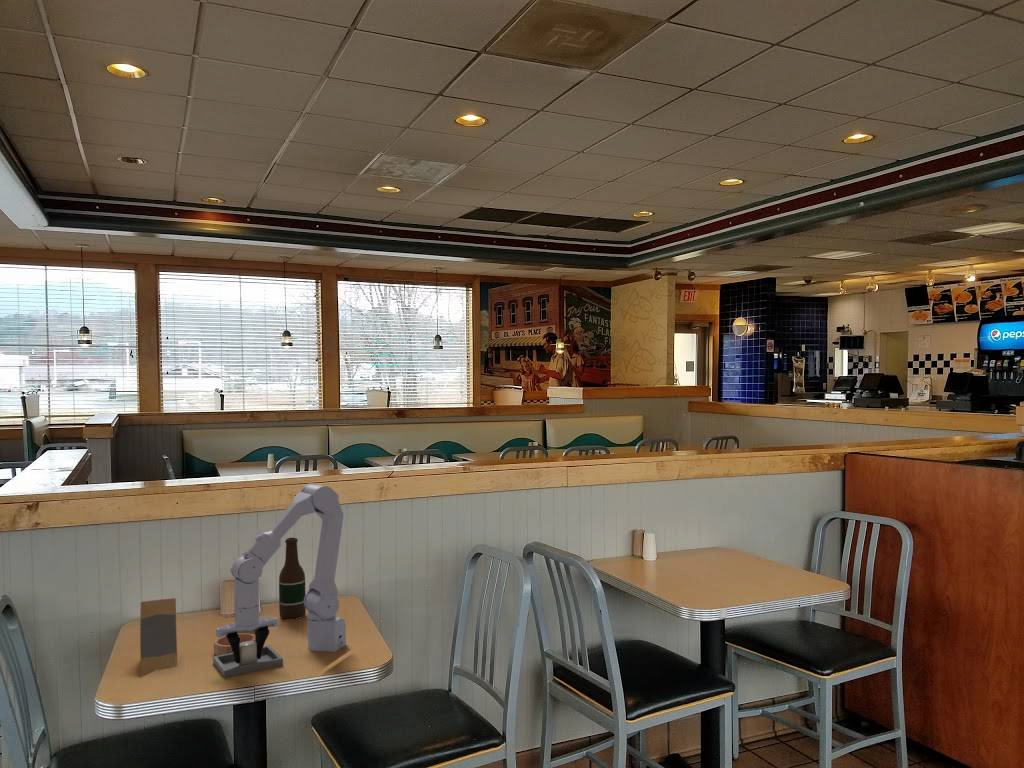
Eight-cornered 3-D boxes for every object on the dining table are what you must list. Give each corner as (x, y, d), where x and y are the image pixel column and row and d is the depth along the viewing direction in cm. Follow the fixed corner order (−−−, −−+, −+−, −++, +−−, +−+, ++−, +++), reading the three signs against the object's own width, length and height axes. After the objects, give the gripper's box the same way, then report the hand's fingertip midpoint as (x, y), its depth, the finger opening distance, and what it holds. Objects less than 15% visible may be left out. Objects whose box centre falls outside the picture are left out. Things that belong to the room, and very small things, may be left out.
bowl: (264, 648, 201) (264, 634, 201) (240, 662, 191) (239, 647, 191) (231, 645, 204) (231, 631, 204) (205, 659, 194) (205, 644, 194)
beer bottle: (279, 614, 233) (278, 537, 233) (305, 611, 235) (304, 535, 235) (279, 621, 225) (278, 541, 225) (306, 618, 227) (304, 539, 228)
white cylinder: (261, 661, 188) (260, 641, 188) (250, 668, 184) (249, 647, 184) (245, 660, 190) (245, 640, 190) (234, 666, 185) (234, 646, 185)
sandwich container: (139, 678, 182) (138, 617, 182) (140, 659, 195) (139, 601, 196) (178, 672, 185) (177, 612, 185) (176, 653, 199) (175, 597, 199)
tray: (269, 655, 196) (269, 645, 196) (283, 669, 186) (282, 658, 186) (213, 667, 188) (213, 656, 188) (224, 682, 178) (224, 671, 178)
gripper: (220, 614, 180) (221, 671, 180) (280, 604, 188) (281, 658, 188) (213, 607, 186) (214, 662, 185) (272, 598, 194) (273, 650, 193)
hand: (247, 660), depth 187 cm, fingers closed on white cylinder, 4 cm apart
